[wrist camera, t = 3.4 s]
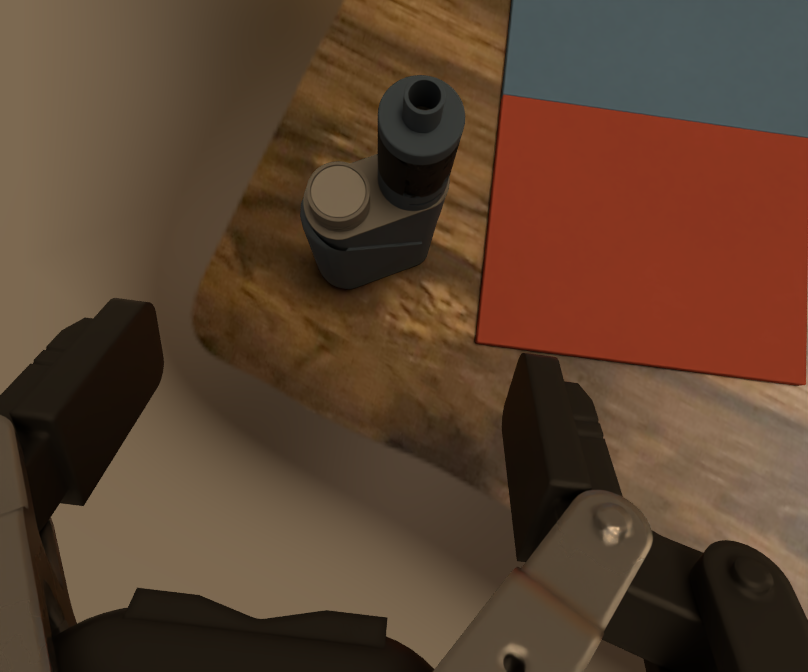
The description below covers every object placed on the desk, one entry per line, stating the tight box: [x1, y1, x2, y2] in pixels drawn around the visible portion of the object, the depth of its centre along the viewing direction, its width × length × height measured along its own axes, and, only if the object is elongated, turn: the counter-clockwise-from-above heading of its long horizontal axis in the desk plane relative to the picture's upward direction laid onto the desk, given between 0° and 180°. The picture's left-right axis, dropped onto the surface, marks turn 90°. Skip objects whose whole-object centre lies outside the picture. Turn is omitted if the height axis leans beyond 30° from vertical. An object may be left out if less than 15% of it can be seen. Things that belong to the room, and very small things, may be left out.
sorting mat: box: [475, 0, 808, 386], centre depth 27 cm, size 15×24×1 cm, turn 173°
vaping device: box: [300, 75, 465, 289], centre depth 20 cm, size 3×5×12 cm, turn 111°
